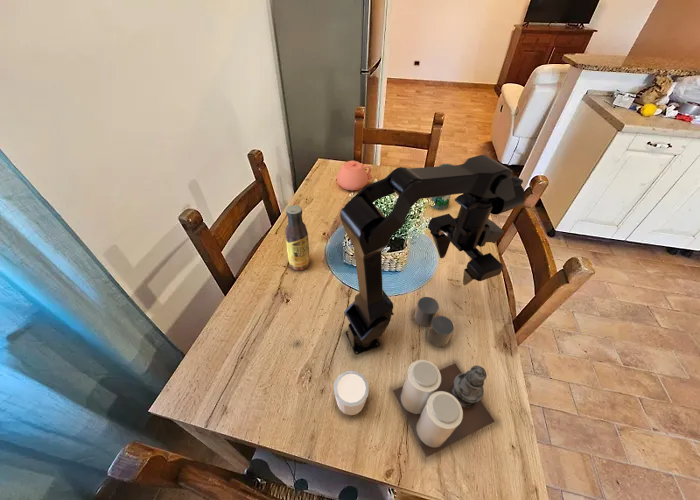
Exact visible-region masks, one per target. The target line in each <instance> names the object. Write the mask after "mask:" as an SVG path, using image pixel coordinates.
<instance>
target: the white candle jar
mask: <svg viewBox="0 0 700 500" xmlns="http://www.w3.org/2000/svg"><path fill="white" fill-rule="evenodd" d="M369 392H370V385H369V382H368V380H367V378H366V376H365V375H363V374H362V373H361V372H359V371H357V370H346V371H344V372H342V373H340V374H339V375H338V376H337V377H336V379H335V380H334V384H333V393H334V397H335V400H336V401H335V402H336V404H337V406H338V409H339V410H340V411H341V412H342V413H343V414H344V415H348V416H354V415H357V414H359V413H360V412H361V411H362V410H363V408H364V407H365V404H366V401H367V399H368V397H369Z"/></svg>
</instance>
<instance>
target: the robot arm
mask: <svg viewBox="0 0 700 500" xmlns="http://www.w3.org/2000/svg"><path fill="white" fill-rule="evenodd" d="M451 165H452V166H440V165H439V166H428V167H427V166H426V167H413V168H408V167H403V166H399V167H396V168H395V169H394V170H392V171H391V172H390V173H389V174H387V176H385V177H384V178H381V179H379V180H377V181H374V182H372V183H369V184H366V185H365V186H364V187H363V188H361V189H360V190H359V191H358V192H357V193H356V194H355V195H354V196H352V198H351V199H349V201H347V203H346V204H345V205H344V207H342V208H341V210H340V212H339V213H340V214H339V218H340V221H341V223H342V226H343V229H344V231H345V233H346V235H347V237H348V238H349V241H350V242H351V245H352V246H353V251H354V260H355V268H356V276H357V284H358V291H359V293H357V294H356V295H355V296H354V300H353V301H352V303H350V305H349V306H348V307H347V308H346V309H345V310H343V313H344V315H345V316H346V319H347V320H348V322H349V323H348V324H347V325H348V327H347V329H348V330H346V331H345V336H346V338H347V341H348V342H349V344H350V347H351V349H352V351H353V353H354V355H355V356H358V355H361V354H363V353H365V352H368V351H370V350H373V349H376V348H378V347H380V346H381V342H380V341H379V338H381V337H382V336H383V335H384V333H385V331H386V329H387V328H388V327H389V325H390V322H391V320H392V316H394V315H395V313H394V311H393V310H394V303H393V301H392V300H391V299H390V298H389V296H388V294H386V292H385V290H384V288H383V287H384V286H383V257H382V256H383V254H382V253H383V251H384V250H385V249H386V248H387V247H388V246H389V245H390V241H391V237H393V235H395V234H396V233H397V232H398V231H399V230H400V229H402V227H403V226H404V225H405V222H406V220H407V217H408V216H409V213H410V210H411V208H412V207H413V206H414V205H415V204H416V203H417V202H418V201H419V200H423V199H431V198H432V197H439V196H447V195H451V196H454V195H458V196H456V198H455V199H454V201H455V202H456V204H458V205H459V206H460V207H459V210H458V213H457V217H453V216H452V215H451V214H450V213H446V214H442V215H437V216H435V217H432V218H430V219H429V221H428V225H427V229H428V230H429V233H430V235H431V236H432V239H433V241H434V244H435V247H436V250H437V253H438V256H439V258H440V259H444V258H445V257H446V255H447V253H448V250H449V248H450V245H451V244H452V245H453V246H454V247H455V248H456V249H457V250H458V251H459V252H464V253H465V254H466V255H467V257H469V258H470V259H471V260H469V261H468V262H467V264H466V268H464V269H463V278H462V285H463V286H467V285H469V284H470V283H471V282H473V281H474V280H475V281H477V282H483V281H485V280H489V279H491V278H495V277H497V276H499V275H501V273H502V271H503V270H504V265H503V264H502V263H501V262H500V261H499V260H498V259H497V258H496V257H495V256H494V255H493V254H492V253H491V252H488V253H485V254H483V253H482V252H481V250H479V249H478V248H477V247H479V248H482V247H485V246H486V244H487V243H491V244H496V243H497V241H498V240H499V239H500V237H501V236H502V235H503V234H504V230H503V229H502V228H501V227H500V226H499V225H497V224H496V223H495V222H494V221H493V220H492V219H489V218H490V216H491V214H492V215H495V216H498V215H501V214H503V213H506V212H508V211H511V210H514V209H517V208H520V207H521V206H523V204H524V203H525V201H526V192H525V189H524V187H523V185H522V184H523V182H524V180H523V179H522V178H520V177H518V176H517V175H514V176H512V173H513V170H512V169H511V168H508V167H507V166H505V165H503V164H502V163H500V162H499V161H497V160H495V159H493V158H491V157H489V156H488V155H487V154H479V155H475V156H472V157H468V158H467V159H466V160H465V161H464V162H463V163H462V164H451ZM394 194H395V195H397V196H398V197H397V199H396V201H395V204H394V206H393V208H392V210H391V212H390V214H388V215H387V216H386V215H385V214H384V213H383V212H382V211H381V210H380V208H378V207H377V206H376V205H375V202H376V201H377V200H379V199H382V198H385V197H388V196H391V195H394Z"/></svg>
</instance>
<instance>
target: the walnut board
mask: <svg viewBox="0 0 700 500" xmlns="http://www.w3.org/2000/svg"><path fill="white" fill-rule="evenodd" d="M438 370H439V371H440V374H441V383H440V386H439V388H438V389H437V391H436V392H438V391H444V392H447V393H450V394H451V389H452V386H453V385H454V380H455V378H456V377H457V376H458V375H459V374H462V373H463V372H462V371H461V369H460V368H459V366H458V365H457V364H456V363H453V364H451V365H448V366H446V367H444V368H442V369H438ZM402 388H403V385H402V386H400V387H398V388H396V389H395V388H394V389H393V390H392V392H393V394H394V396H395V398H396V400H397V402H398V404H399V406H400V408H401V410H402V413H403V414H404V417H405V418H406V420H407V422H408V424H409V426H410V429H411V431H412V432H413V434H414V436H415V438H416V440H417V442H418V444H419V446H420V448H421V450H422V452H423V454H424V456H425V458H428V457H429V456H432V455H434V454H435V453H438V452H440V451H441V450H444V449H445V448H447V447H449V446H451V445H453V444H454V443H456V442H459V441H460V440H463V439H464V438H466V437H468V436H470V435H472V434H473V433H476V432H477V431H479V430H482V429H484V428H485V427H487V426H490V425H492V424H493V423H495V422H496V421H495V419H494V418H493V416H492V414H490V411H488V409H487V408H486V406H485V405H484V403H483V401H482V399H481V400H480V401H478V402H476V404H475V405H474V406H472V407H468V408H467V407H463V406H461V407H462V411H463V418H462V421H461V423H460V424H459V425H458V427H457V428H456V429H455V430H454V432H453V433H452V434H451V435H450V437H449V438H448V439H447V440H446V442H445V443H444V444H443V445H442V446H440V447H430V446H428V445H426V444H424V443H423V442H422V441H421V439H420V438H419V436H418V434H417V430H416V424H417V421H418V419H419V417H420V415H421V414H414V413H411V412H409V411H408V410H406V409H405V407H404V406H403V404H402V402H401V391H402ZM451 395H452V394H451Z"/></svg>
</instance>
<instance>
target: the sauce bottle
mask: <svg viewBox="0 0 700 500" xmlns="http://www.w3.org/2000/svg"><path fill="white" fill-rule="evenodd" d="M285 211H286V212H285V213H286V216H287V225H286V226H285V230H284V234H285V245H286V251H287V260H288V263H289V266H290V268H291V269H292V270H294V271H302V270H305V269H306V268H308V266H309V265H310V260H311V255H310V243H309V233H308V229H307V226H306V224H305V222H304V219H303V208H302V207H301V206H300V205H297V204H292V205H289V206H288V207H286V210H285Z"/></svg>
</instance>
